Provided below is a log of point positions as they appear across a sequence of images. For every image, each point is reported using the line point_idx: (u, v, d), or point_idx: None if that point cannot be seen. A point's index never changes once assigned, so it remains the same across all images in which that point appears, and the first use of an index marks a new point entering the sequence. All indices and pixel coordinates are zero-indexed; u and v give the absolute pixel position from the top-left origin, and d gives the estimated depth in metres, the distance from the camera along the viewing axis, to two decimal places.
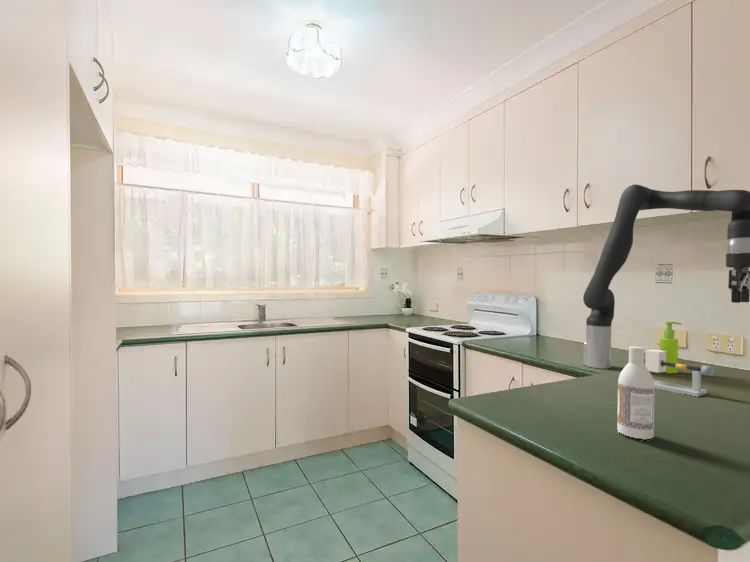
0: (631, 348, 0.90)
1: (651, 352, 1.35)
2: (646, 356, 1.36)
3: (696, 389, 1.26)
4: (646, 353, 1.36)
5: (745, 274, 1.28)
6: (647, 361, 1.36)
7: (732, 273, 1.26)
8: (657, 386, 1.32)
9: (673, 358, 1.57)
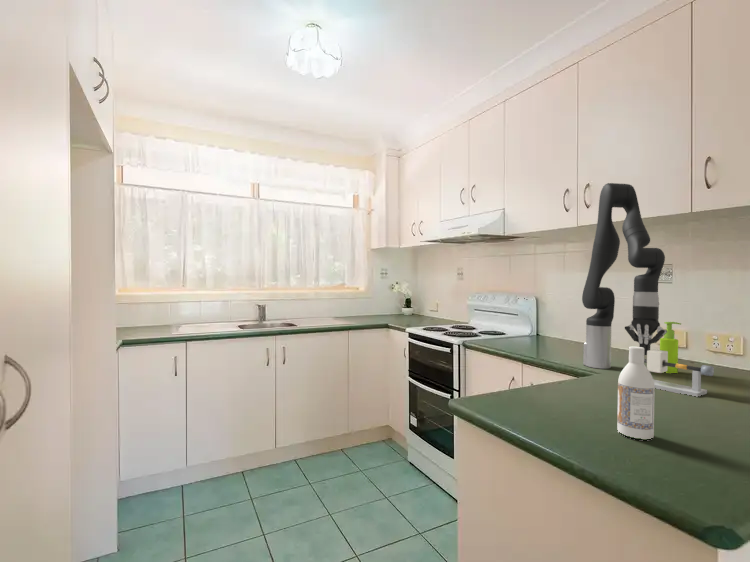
0: (631, 348, 0.90)
1: (653, 352, 1.35)
2: (648, 356, 1.36)
3: (696, 389, 1.26)
4: (648, 353, 1.36)
5: None
6: (649, 361, 1.36)
7: (663, 333, 1.34)
8: (657, 386, 1.32)
9: (673, 358, 1.57)
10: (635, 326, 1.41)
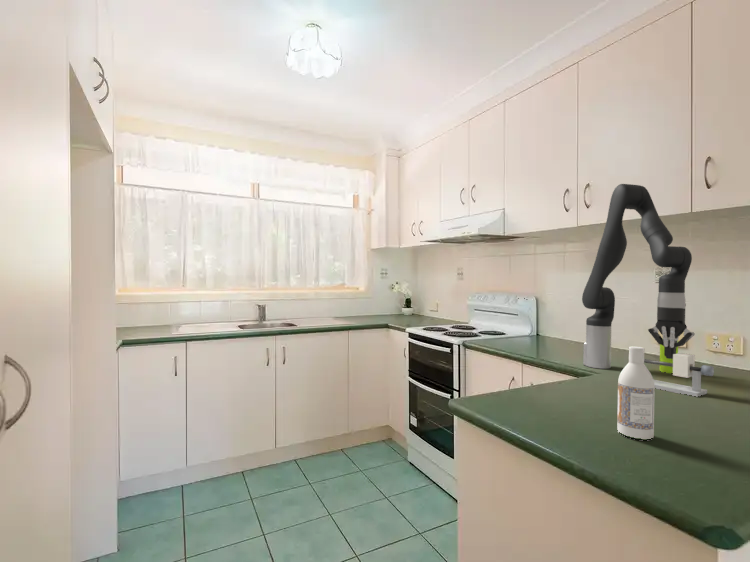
0: (631, 348, 0.90)
1: (679, 356, 1.28)
2: (674, 360, 1.30)
3: (696, 389, 1.26)
4: (674, 357, 1.30)
5: None
6: (675, 365, 1.29)
7: (690, 336, 1.28)
8: (657, 386, 1.32)
9: None
10: (660, 328, 1.35)
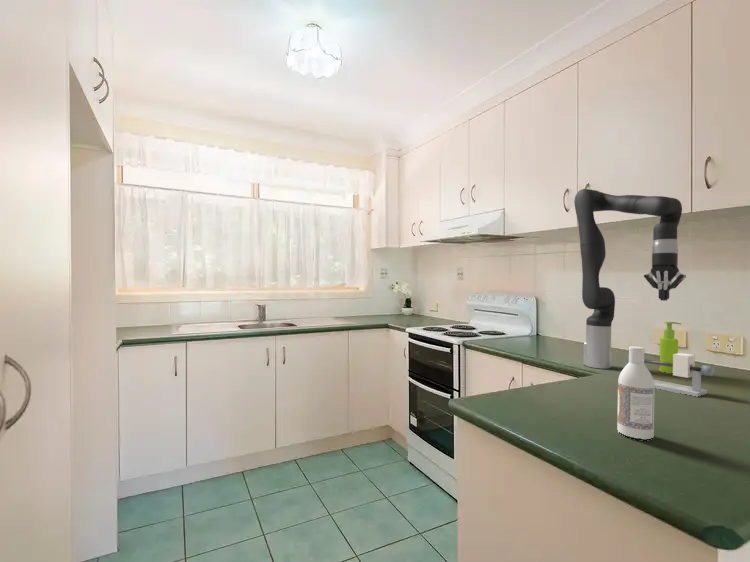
0: (631, 348, 0.90)
1: (679, 356, 1.28)
2: (674, 360, 1.30)
3: (696, 389, 1.26)
4: (674, 357, 1.30)
5: None
6: (675, 365, 1.29)
7: (682, 278, 1.40)
8: (657, 386, 1.32)
9: None
10: (654, 273, 1.46)
